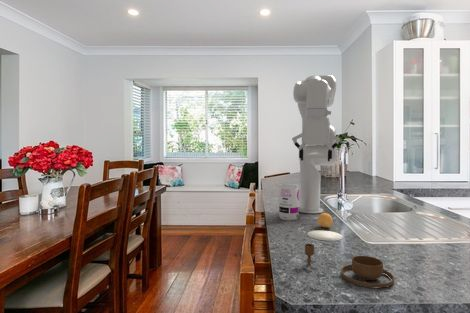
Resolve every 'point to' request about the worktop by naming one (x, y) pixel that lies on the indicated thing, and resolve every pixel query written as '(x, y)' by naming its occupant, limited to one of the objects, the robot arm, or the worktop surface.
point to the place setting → (359, 268)
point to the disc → (325, 235)
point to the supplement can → (288, 201)
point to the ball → (324, 220)
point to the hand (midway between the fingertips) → (315, 160)
